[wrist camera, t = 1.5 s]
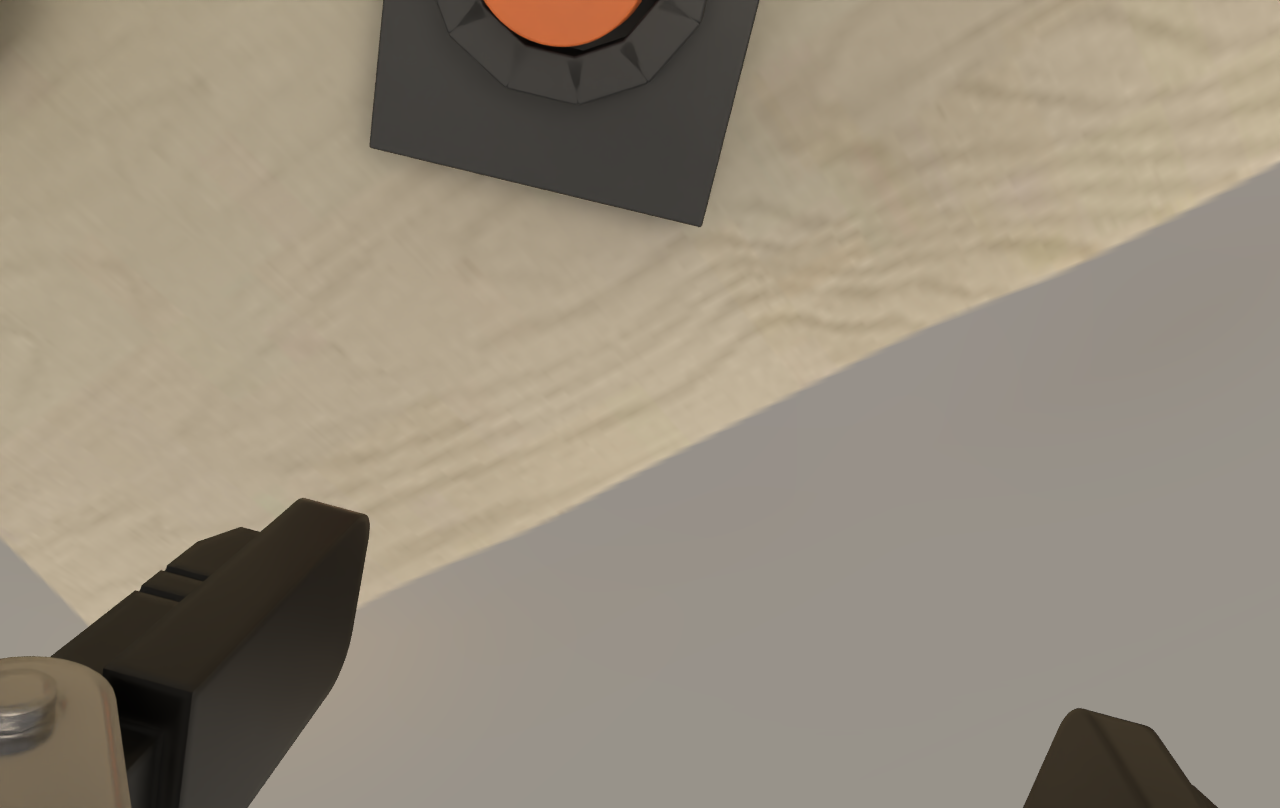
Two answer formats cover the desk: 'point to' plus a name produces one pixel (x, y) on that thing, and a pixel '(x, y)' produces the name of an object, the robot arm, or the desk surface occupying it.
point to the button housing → (567, 100)
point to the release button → (562, 19)
